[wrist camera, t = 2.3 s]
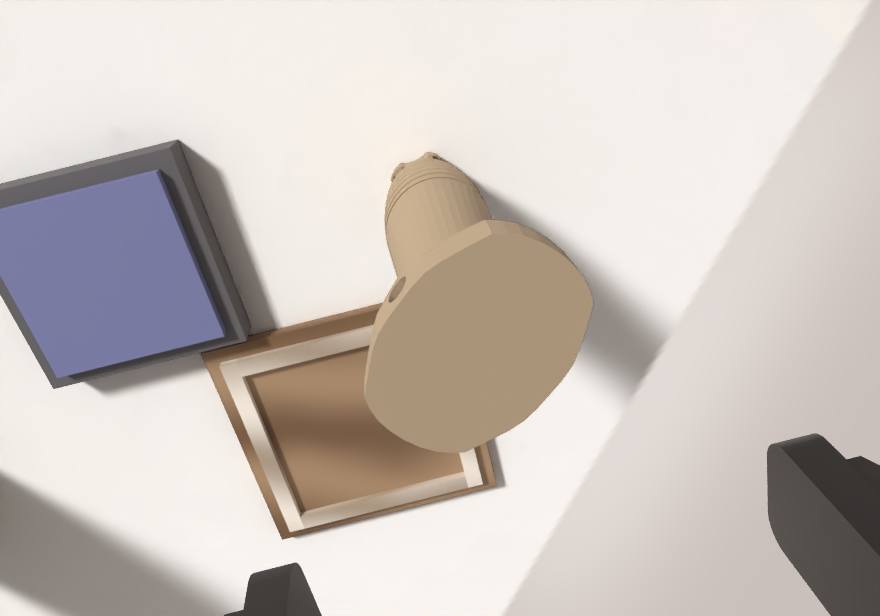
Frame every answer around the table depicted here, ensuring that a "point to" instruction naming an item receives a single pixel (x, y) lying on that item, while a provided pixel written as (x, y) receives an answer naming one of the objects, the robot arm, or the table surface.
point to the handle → (467, 315)
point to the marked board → (328, 429)
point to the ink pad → (115, 266)
